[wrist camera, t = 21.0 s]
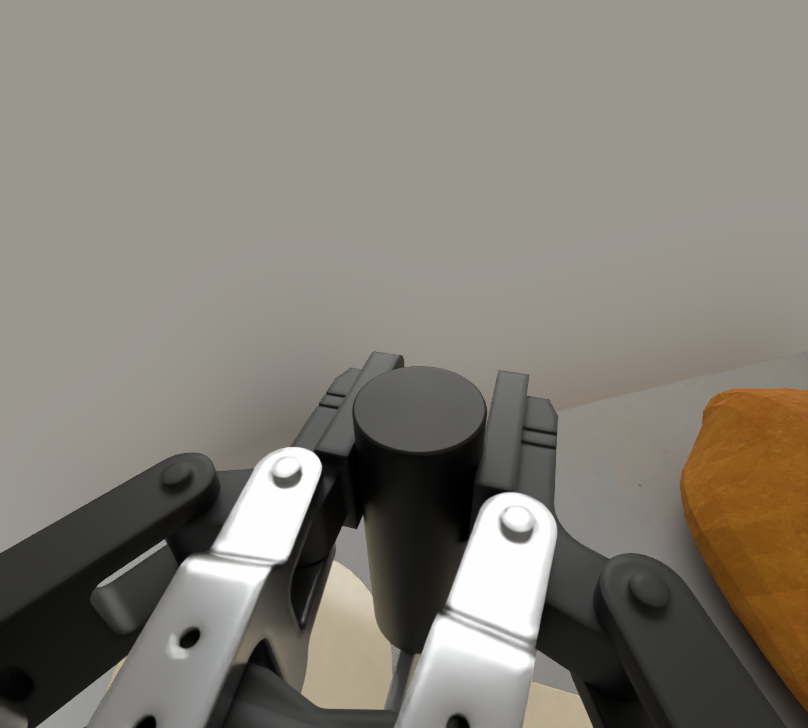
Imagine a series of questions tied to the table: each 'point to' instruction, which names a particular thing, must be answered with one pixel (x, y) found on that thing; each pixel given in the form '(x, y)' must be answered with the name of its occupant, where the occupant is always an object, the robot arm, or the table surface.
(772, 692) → the table surface
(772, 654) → the bread
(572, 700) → the cake slice
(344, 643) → the cake
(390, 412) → the knife
